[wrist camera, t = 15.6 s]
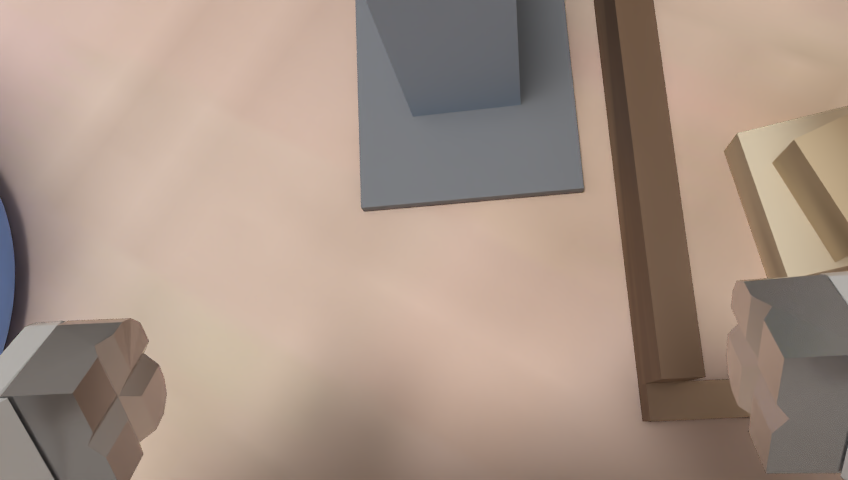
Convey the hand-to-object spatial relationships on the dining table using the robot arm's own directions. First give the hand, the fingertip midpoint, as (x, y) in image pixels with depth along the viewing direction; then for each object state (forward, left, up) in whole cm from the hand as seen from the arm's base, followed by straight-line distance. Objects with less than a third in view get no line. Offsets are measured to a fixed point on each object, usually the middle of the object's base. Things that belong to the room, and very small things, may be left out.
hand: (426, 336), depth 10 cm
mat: (0, -12, -12) cm, 17 cm away
